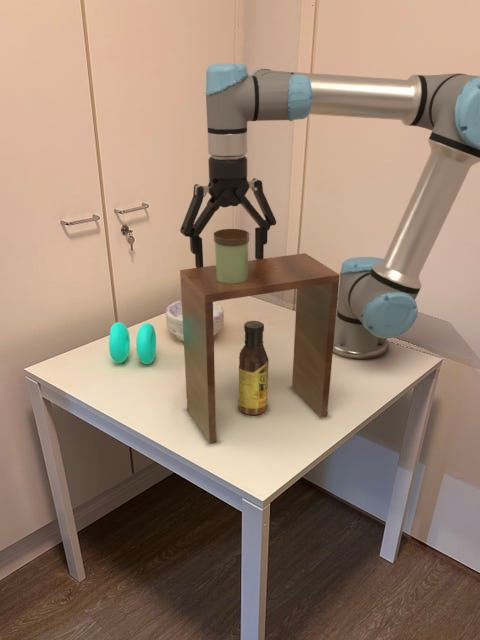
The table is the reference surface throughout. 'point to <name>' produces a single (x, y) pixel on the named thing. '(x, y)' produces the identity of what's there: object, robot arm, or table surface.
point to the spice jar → (231, 255)
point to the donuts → (121, 343)
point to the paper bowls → (176, 319)
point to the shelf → (263, 277)
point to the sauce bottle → (253, 370)
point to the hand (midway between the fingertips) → (229, 264)
